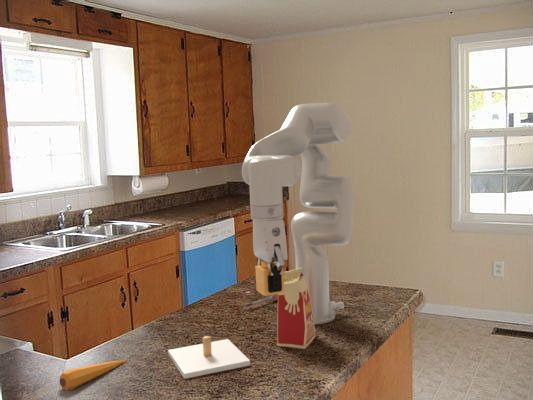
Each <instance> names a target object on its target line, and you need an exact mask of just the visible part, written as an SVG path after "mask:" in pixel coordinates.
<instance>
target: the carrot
mask: <svg viewBox="0 0 533 400" xmlns="http://www.w3.org/2000/svg"><path fill="white" fill-rule="evenodd" d="M128 361H130V359H129V358H128V359H122V360H120V359H119V360H115V361H113V360H112V361H107V362H102V363H96V364H91V365H85V366H81V367H76V368H75V367H74V368H71V369H70V368H69V369H66V370H65V371H64V372H62V373H61V375H60V376H59V385H60V387H61V389H62V390H64V391H72V390H75V389H76V388H79V387H80V386H82V385H84V384H86V383H88V382H90V381H92V380H94V379H96V378H97V377H100V376H101V375H103V374H106V373H107V372H109V371H112V370H115V368H118V367H119V366H120V365H122V364H124V363H126V362H128Z"/></svg>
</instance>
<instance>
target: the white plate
mask: <svg viewBox="0 0 533 400" xmlns="http://www.w3.org/2000/svg"><path fill="white" fill-rule="evenodd" d="M167 353H168V354H167V355H168V357H169V358H170V360H171V362H173V364H174V365H175V367H176V368H177V370H178V371H179V373H180V375H181V377H183V379H184V380H187V379H191V378H195V377H199V376H200V377H201V376H205V375H209V374H216V373H220V372H224V371H230V370H234V369H239V368H245V367H248V366H251V360H250V359H249V358H248V357H247V356H246V355H245V354H244V353H243V352H242V351H241V350H240V349H239V348H238V347H237V346H236V345H235V344H234V343H233V342H231V340H230V339H228V338H225V339H220V340H215V341H214V340H213V341H212V336H210V335H205V336H202V343H199V344H193V345H188V346H187V345H186V346H182V347H177V348H176V347H175V348H172V349H167Z"/></svg>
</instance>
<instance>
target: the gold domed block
mask: <svg viewBox="0 0 533 400" xmlns="http://www.w3.org/2000/svg"><path fill="white" fill-rule="evenodd" d="M273 261H276V259H272V261H271V262H273ZM275 265H276V264H272V269H273V267H274V266H275ZM254 267H255V286H256V287H255V289H256V290H255V291H256V292H258V293H259V294H260V295H262V296H263V297H270V296H271V295H274V294H280V293H284V272H285V271H284V267H283V268H282V275H281V277H282V291H279V292H273V293H270V292H269V291H268V275H269V269H268V263H267V262H265V261H263V260H261V265H259V266H258V265H255V266H254Z"/></svg>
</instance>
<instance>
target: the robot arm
mask: <svg viewBox="0 0 533 400" xmlns="http://www.w3.org/2000/svg"><path fill="white" fill-rule="evenodd" d="M351 133H352V124H351V120H350V117H349V116H348V115H347V114H346V113H345V111H343V109H342V108H341V107H339V105H337V104H334V103H332V102H316V103H315V102H313V103H300V104H297V105H295V106H294V107H292V108H291V110H290V111H289V113H288V114H287V116H286V117H285V120H284V121H283V123H282V125H281V127H280V128H279V130H277V131H275V132H273V133H271V134H268V135H267V136H265V137H264V138H261V139H259V140H258V141H257V142H255V143H254V144H253V145H252V146H251V147H250V149H249V151H248V152H247V154H246V156H245V157H244V160H243V163H242V166H241V176H242V179H243V181H244V183H245V184H247V185H248V186H249V204H250V207H249V208H250V220H252V246H253V247H252V248H253V249H252V250H253V255H254V256H255V258H256V261H257V266H259V265H261V260H263V261H265V262H267V263H268V269H269V275H268V291H269V292H270V293H273V292H279V291H282V277H281V275H282V268H283V269H284V266H285V262H286V261H287V260H288V248H287V247H288V245H287V237H286V236H287V235H286V227H285V223H284V201H283V200H284V199H283V197H284V196H283V187H291V186H294V185H296V184H297V183H298V182H299V180H300V185H299V186H300V188H299V201H300V203H301V205H302V206H303V207H306V208H309V209H310V208H311V209H335V210H336V211H318V210H317V211H313V210H312V211H311V210H310V211H300V212H298V213H296V214H295V215H294V216H293V217H292V220H291V223H290V230H291V236H292V240H293V248H294V258H295V269H297V268H301V267H302V270H301V272H302V274H303V275H304V278H305V281H306V285H307V289H308V292H309V296H310V301H311V306H312V312H313V317H314V326H315V325H323V324H327V323H331V322H332V321H334V320H335V319H336V314H335V310H340V309H344V308H345V303H344V301H339V302H336V301H335V300H333V301H330V279H329V257H328V255H327V253H326V252H325V250H324V249H323V248H322V246H345V245H348V244H349V243H350V241H351V239H352V235H353V224H354V210H355V187H354V183H353V181H352V179H351V178H349V177H348V176H346V175H331V169H332V167H331V165H332V162H331V159H330V157H329V155H328V153H327V152H326V151H325V150H324V149H323V147H321V146H320V145H324V144H325V145H326V144H327V145H329V144H331V145H332V144H333V145H334V144H343V143H346V142H347V141H349V139H350V137H351ZM299 155H300V156H301V162H300V160H298V158H296V157H295V156H299ZM301 163H302V164H301ZM272 259H276V261H273V262H271V261H272ZM272 264H276V265H275V266H274V267H273V269H272Z"/></svg>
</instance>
